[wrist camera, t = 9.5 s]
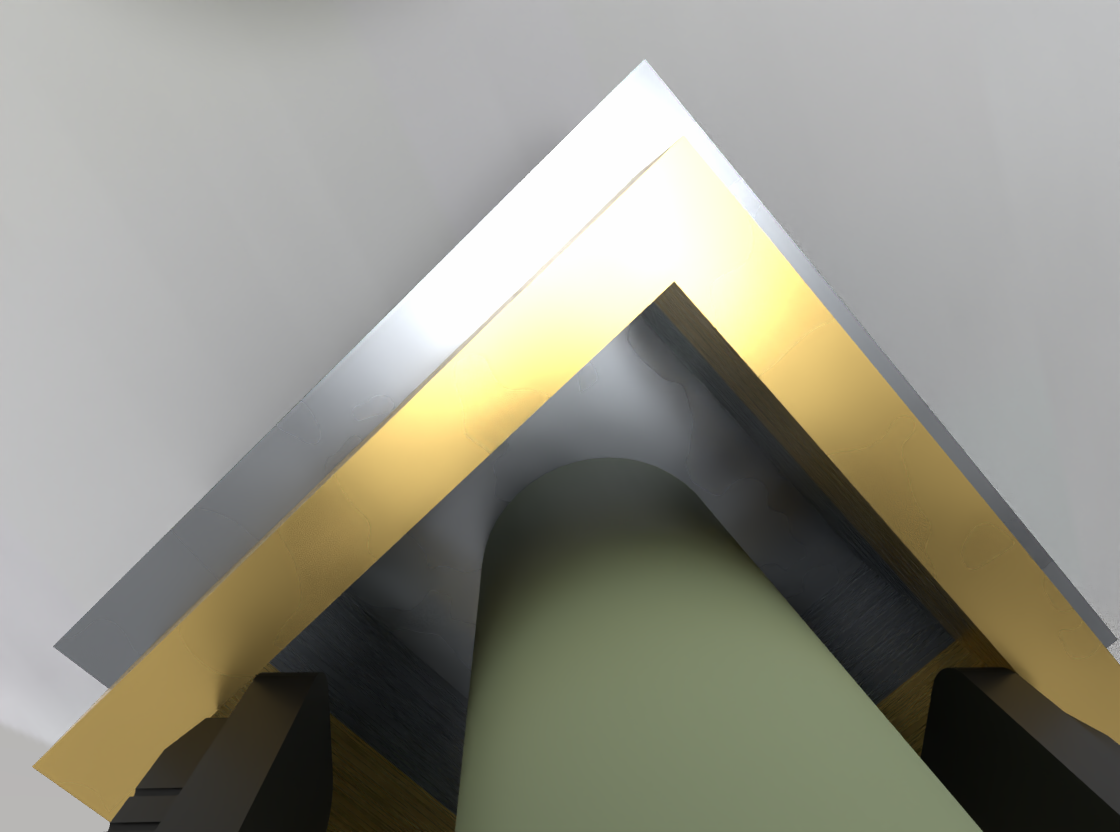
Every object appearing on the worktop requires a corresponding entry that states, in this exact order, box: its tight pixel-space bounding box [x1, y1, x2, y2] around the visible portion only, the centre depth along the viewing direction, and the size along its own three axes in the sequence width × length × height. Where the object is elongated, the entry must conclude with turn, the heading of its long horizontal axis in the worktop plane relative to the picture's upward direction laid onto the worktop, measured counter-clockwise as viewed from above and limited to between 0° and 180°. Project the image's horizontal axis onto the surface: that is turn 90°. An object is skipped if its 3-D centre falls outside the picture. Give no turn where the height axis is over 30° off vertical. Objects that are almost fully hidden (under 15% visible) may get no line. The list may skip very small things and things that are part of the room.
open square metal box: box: [33, 59, 1120, 832], centre depth 12 cm, size 12×12×8 cm
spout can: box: [455, 458, 983, 832], centre depth 8 cm, size 5×5×10 cm
